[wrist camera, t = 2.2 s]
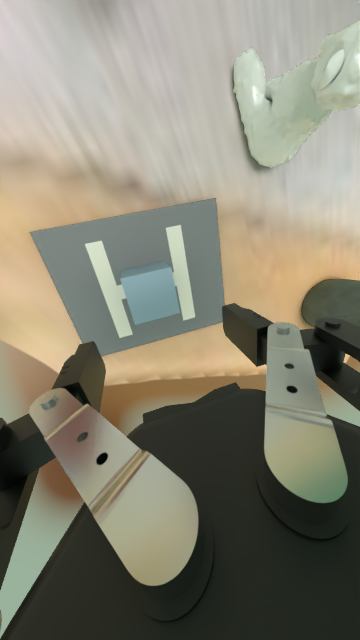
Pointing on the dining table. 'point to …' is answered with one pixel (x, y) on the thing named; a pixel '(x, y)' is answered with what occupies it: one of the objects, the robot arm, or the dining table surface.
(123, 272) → the blue block
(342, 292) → the bottle
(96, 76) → the dining table surface
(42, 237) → the letter board
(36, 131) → the dining table surface
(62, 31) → the dining table surface
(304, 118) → the seated beast figurine
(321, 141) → the dining table surface
